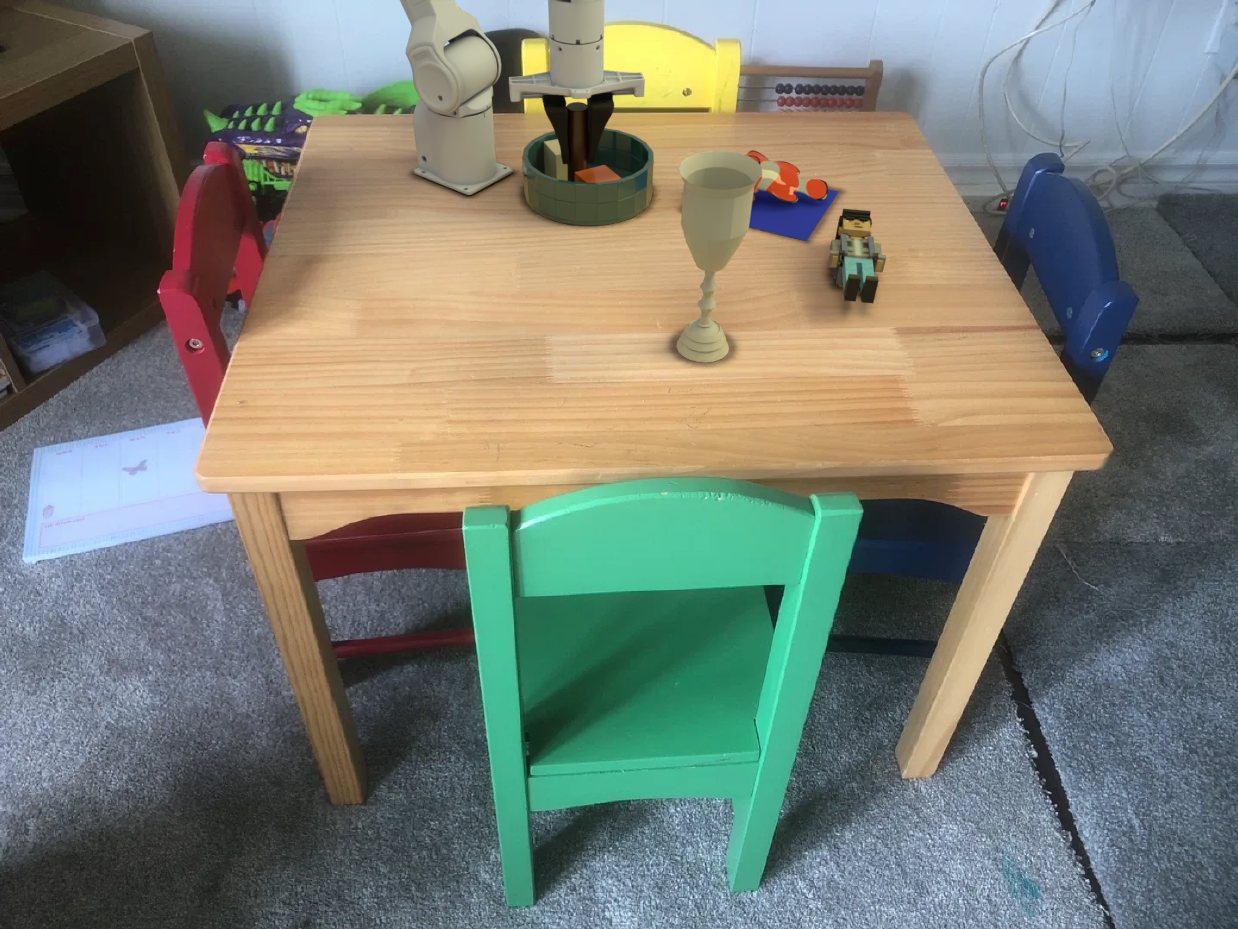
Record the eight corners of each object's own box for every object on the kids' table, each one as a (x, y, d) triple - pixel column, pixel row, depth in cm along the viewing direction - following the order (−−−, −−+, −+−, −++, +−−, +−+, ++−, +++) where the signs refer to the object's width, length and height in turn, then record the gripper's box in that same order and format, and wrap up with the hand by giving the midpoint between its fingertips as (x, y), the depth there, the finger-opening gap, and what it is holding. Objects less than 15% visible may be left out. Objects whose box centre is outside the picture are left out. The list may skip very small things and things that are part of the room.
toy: (834, 277, 89) (830, 203, 100) (826, 316, 92) (823, 240, 103) (893, 282, 89) (883, 208, 99) (883, 321, 92) (874, 245, 102)
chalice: (716, 378, 85) (737, 198, 72) (652, 353, 87) (662, 175, 75) (751, 339, 89) (776, 163, 77) (690, 316, 92) (705, 143, 79)
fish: (708, 160, 105) (734, 132, 111) (704, 199, 108) (730, 170, 114) (816, 185, 101) (838, 155, 107) (809, 224, 104) (830, 193, 110)
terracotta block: (574, 204, 107) (574, 171, 104) (604, 196, 108) (604, 164, 106) (591, 219, 105) (591, 186, 102) (621, 210, 106) (622, 178, 103)
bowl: (498, 198, 109) (495, 158, 105) (577, 154, 118) (577, 116, 114) (600, 239, 102) (600, 198, 99) (676, 189, 111) (678, 149, 108)
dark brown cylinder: (568, 187, 106) (567, 111, 99) (566, 177, 107) (565, 101, 101) (589, 186, 106) (589, 110, 100) (587, 176, 108) (586, 101, 101)
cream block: (544, 172, 113) (543, 141, 110) (574, 167, 114) (574, 135, 111) (556, 186, 110) (555, 154, 107) (587, 180, 111) (587, 149, 109)
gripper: (508, 51, 91) (516, 178, 101) (651, 46, 93) (646, 172, 103) (504, 26, 96) (512, 150, 106) (640, 22, 98) (636, 145, 108)
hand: (577, 159), depth 105 cm, fingers closed on dark brown cylinder, 2 cm apart
